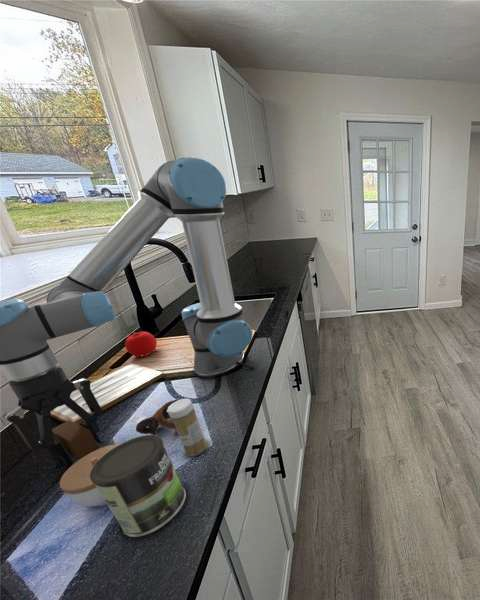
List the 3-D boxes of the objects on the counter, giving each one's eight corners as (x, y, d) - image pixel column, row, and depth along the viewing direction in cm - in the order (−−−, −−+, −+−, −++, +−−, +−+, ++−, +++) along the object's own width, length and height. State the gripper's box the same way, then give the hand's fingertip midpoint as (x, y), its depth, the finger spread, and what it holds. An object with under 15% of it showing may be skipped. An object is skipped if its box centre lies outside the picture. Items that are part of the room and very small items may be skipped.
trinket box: (105, 522, 60) (83, 488, 56) (63, 512, 62) (39, 479, 58) (156, 472, 69) (140, 440, 66) (118, 466, 71) (100, 435, 68)
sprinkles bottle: (181, 454, 73) (161, 409, 68) (199, 439, 77) (181, 396, 72) (195, 459, 72) (175, 413, 67) (212, 444, 76) (195, 400, 71)
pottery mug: (185, 410, 88) (189, 391, 85) (197, 437, 84) (202, 418, 81) (130, 427, 79) (133, 407, 75) (141, 459, 75) (144, 438, 71)
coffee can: (194, 480, 67) (172, 429, 62) (172, 529, 58) (144, 475, 52) (140, 491, 65) (113, 440, 60) (109, 544, 56) (73, 489, 50)
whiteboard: (164, 376, 104) (163, 372, 104) (73, 427, 84) (70, 423, 83) (132, 366, 111) (131, 362, 110) (41, 411, 91) (38, 407, 90)
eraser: (109, 453, 75) (95, 428, 72) (83, 471, 71) (67, 444, 68) (85, 441, 79) (70, 416, 76) (59, 457, 75) (42, 431, 72)
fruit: (128, 355, 119) (117, 331, 115) (156, 345, 125) (147, 322, 121) (133, 363, 113) (122, 339, 109) (163, 352, 119) (153, 329, 115)
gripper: (78, 347, 75) (117, 422, 84) (-40, 394, 60) (23, 480, 68) (95, 352, 72) (134, 430, 81) (-25, 403, 57) (39, 492, 66)
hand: (83, 453), depth 75 cm, fingers closed on eraser, 5 cm apart
